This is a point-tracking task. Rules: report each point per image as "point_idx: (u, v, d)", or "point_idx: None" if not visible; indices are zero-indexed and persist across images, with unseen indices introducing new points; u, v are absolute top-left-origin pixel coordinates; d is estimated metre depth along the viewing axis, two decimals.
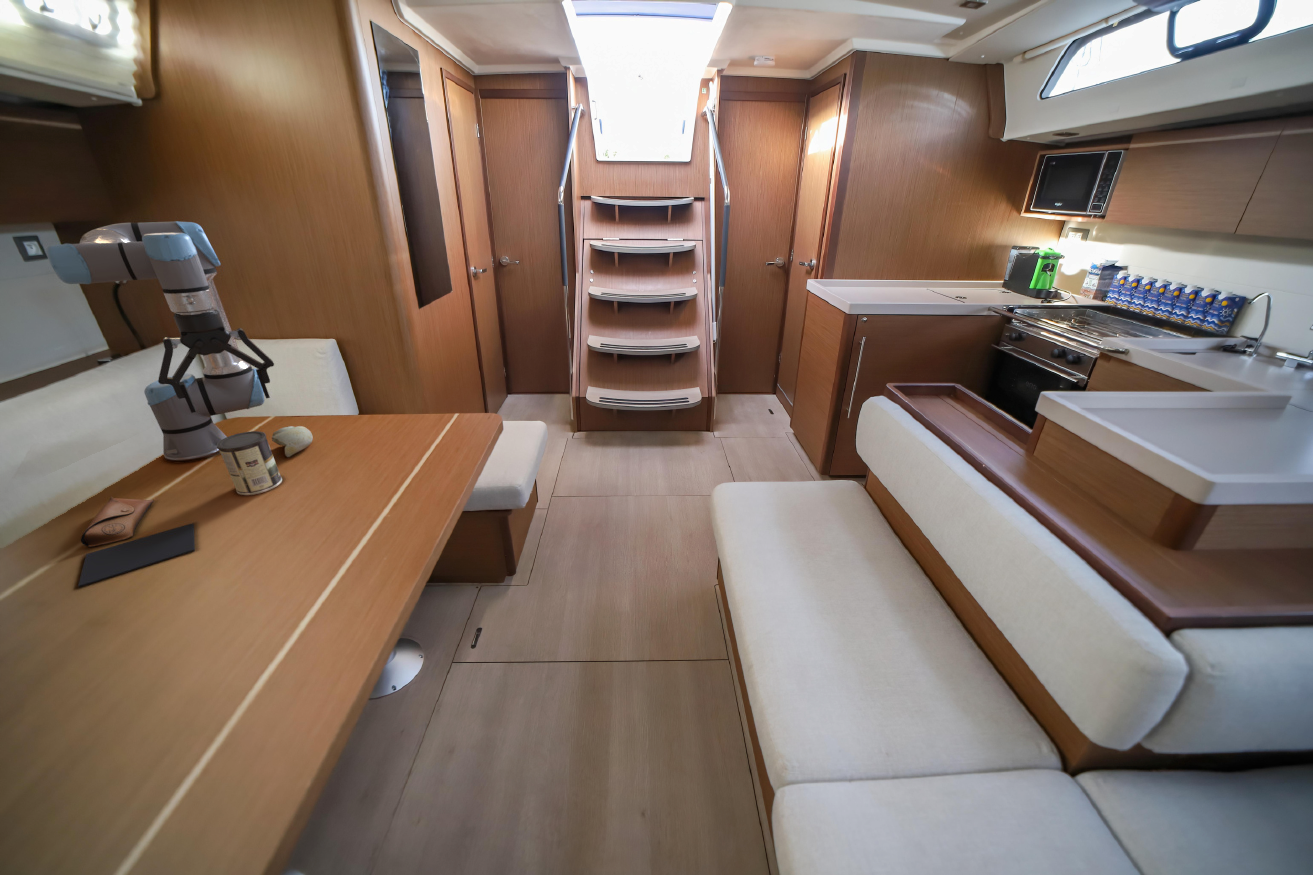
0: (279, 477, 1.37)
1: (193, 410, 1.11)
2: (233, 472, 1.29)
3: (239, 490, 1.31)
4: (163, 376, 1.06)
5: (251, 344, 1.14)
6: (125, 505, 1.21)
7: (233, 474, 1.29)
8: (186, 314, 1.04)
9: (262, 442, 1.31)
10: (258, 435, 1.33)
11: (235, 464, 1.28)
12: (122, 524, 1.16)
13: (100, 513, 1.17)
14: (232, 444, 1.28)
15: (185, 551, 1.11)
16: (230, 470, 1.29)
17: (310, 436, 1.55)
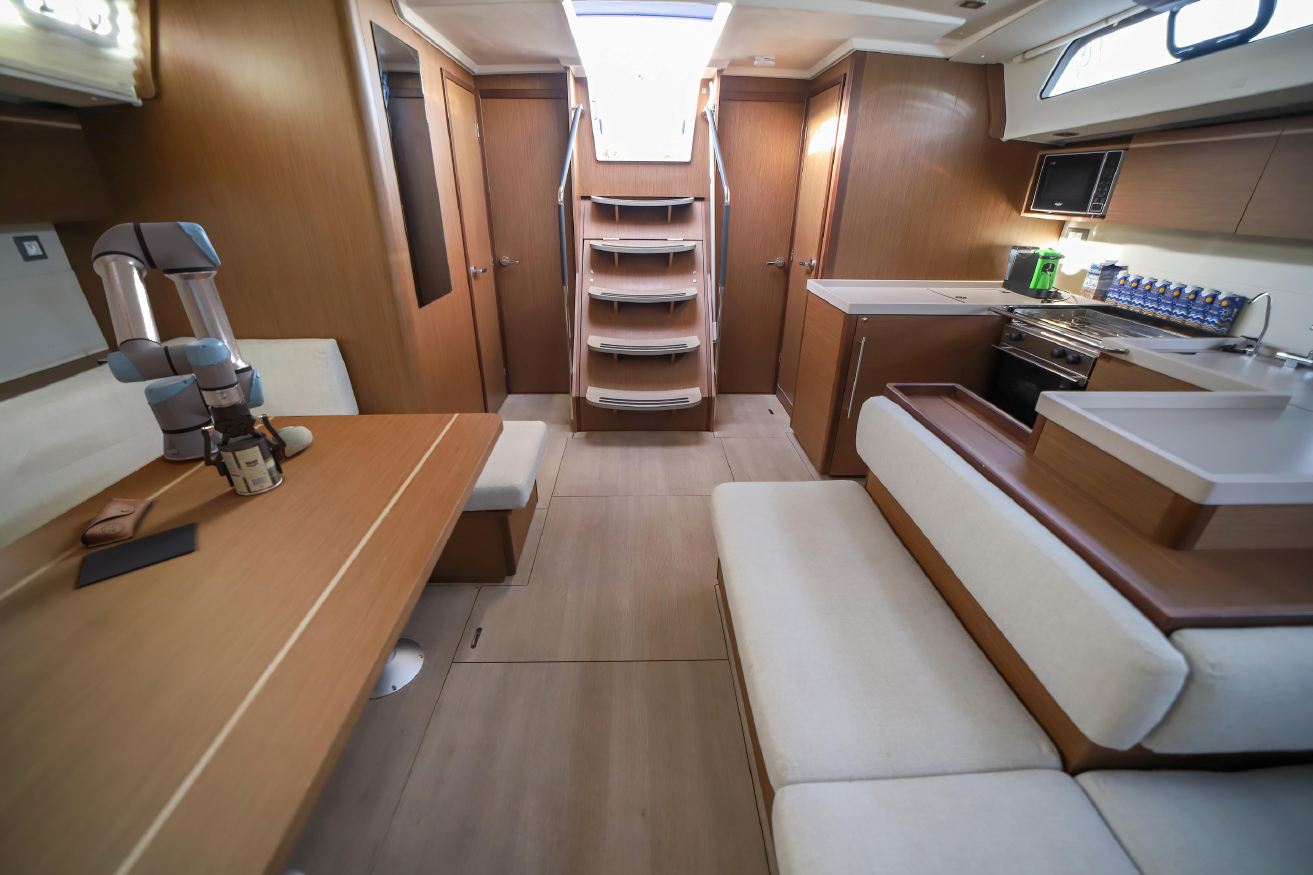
0: (279, 477, 1.37)
1: (232, 485, 1.31)
2: (233, 472, 1.29)
3: (239, 490, 1.31)
4: (207, 459, 1.26)
5: (271, 428, 1.33)
6: (125, 505, 1.21)
7: (233, 474, 1.29)
8: (219, 406, 1.23)
9: (263, 442, 1.31)
10: None
11: (235, 464, 1.28)
12: (122, 524, 1.16)
13: (100, 513, 1.17)
14: (232, 444, 1.28)
15: (185, 551, 1.11)
16: (230, 470, 1.29)
17: (310, 436, 1.55)
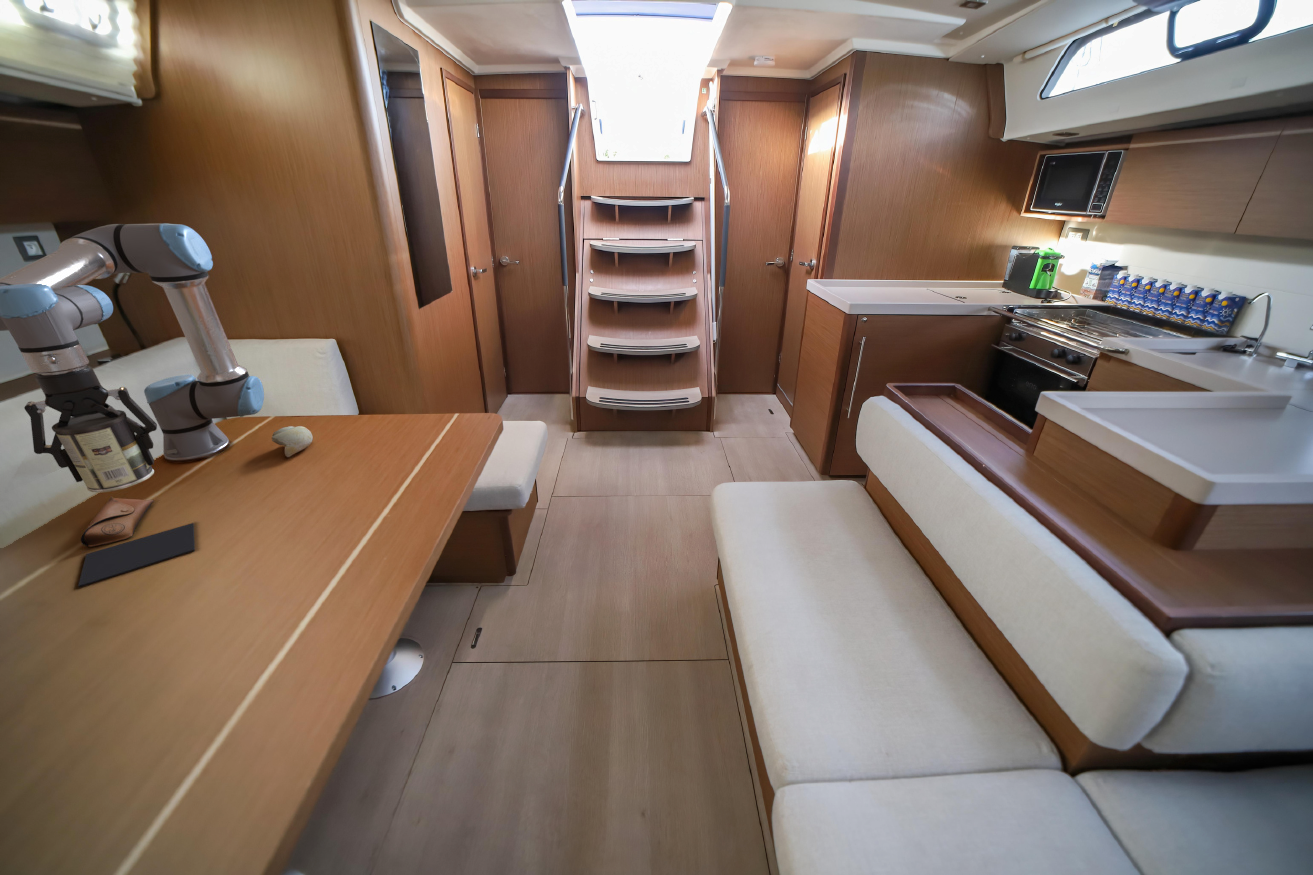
0: (148, 469, 1.07)
1: (79, 479, 1.01)
2: (77, 462, 0.98)
3: (88, 486, 1.01)
4: (38, 445, 0.95)
5: (132, 406, 1.02)
6: (125, 505, 1.21)
7: (76, 464, 0.99)
8: (48, 374, 0.92)
9: (118, 423, 1.00)
10: None
11: (77, 451, 0.97)
12: (122, 524, 1.16)
13: (100, 513, 1.17)
14: (74, 425, 0.97)
15: (185, 551, 1.11)
16: (73, 459, 0.98)
17: (310, 436, 1.55)
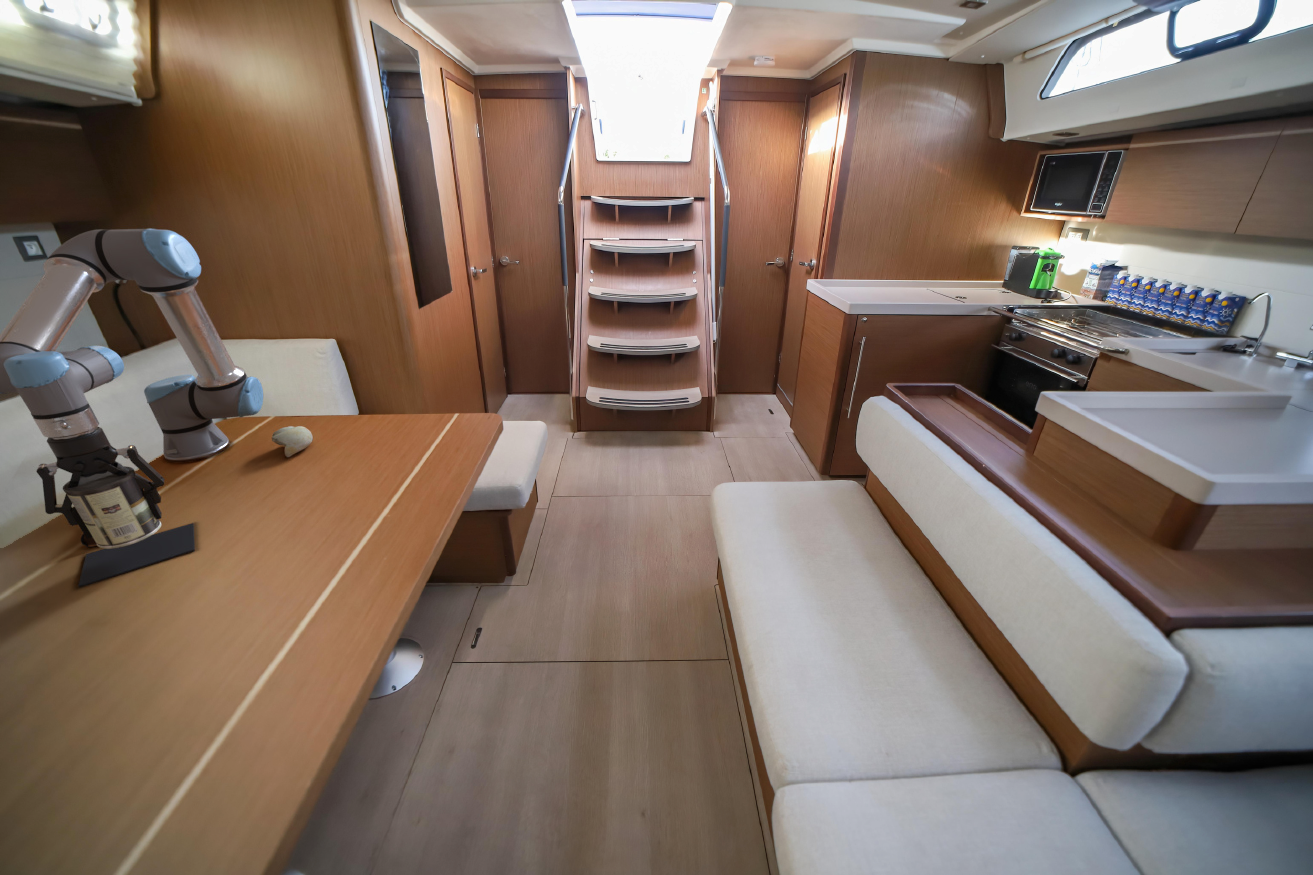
0: (156, 523, 1.09)
1: (89, 536, 1.03)
2: (87, 521, 1.01)
3: (98, 542, 1.03)
4: (49, 505, 0.98)
5: (140, 463, 1.05)
6: None
7: (87, 522, 1.01)
8: (60, 439, 0.95)
9: (127, 481, 1.03)
10: None
11: (87, 511, 1.00)
12: None
13: None
14: (84, 485, 1.00)
15: (185, 551, 1.11)
16: (83, 518, 1.01)
17: (310, 436, 1.55)
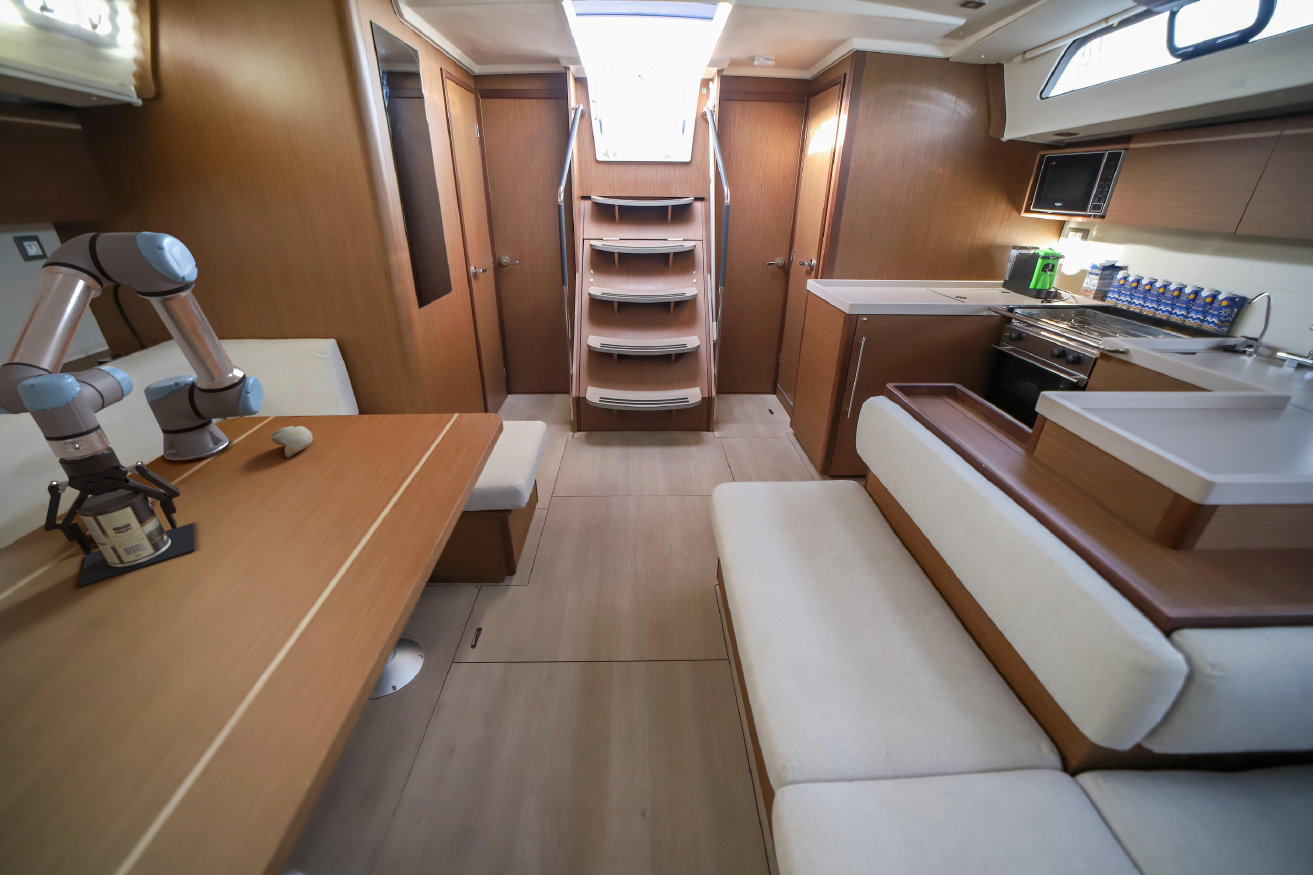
0: (165, 541, 1.11)
1: (87, 552, 1.04)
2: (98, 540, 1.03)
3: (109, 561, 1.05)
4: (49, 522, 0.99)
5: (152, 478, 1.06)
6: None
7: (98, 542, 1.03)
8: (72, 459, 0.97)
9: (138, 501, 1.05)
10: None
11: (99, 530, 1.02)
12: None
13: None
14: (96, 506, 1.02)
15: (185, 551, 1.11)
16: (94, 537, 1.03)
17: (310, 436, 1.55)
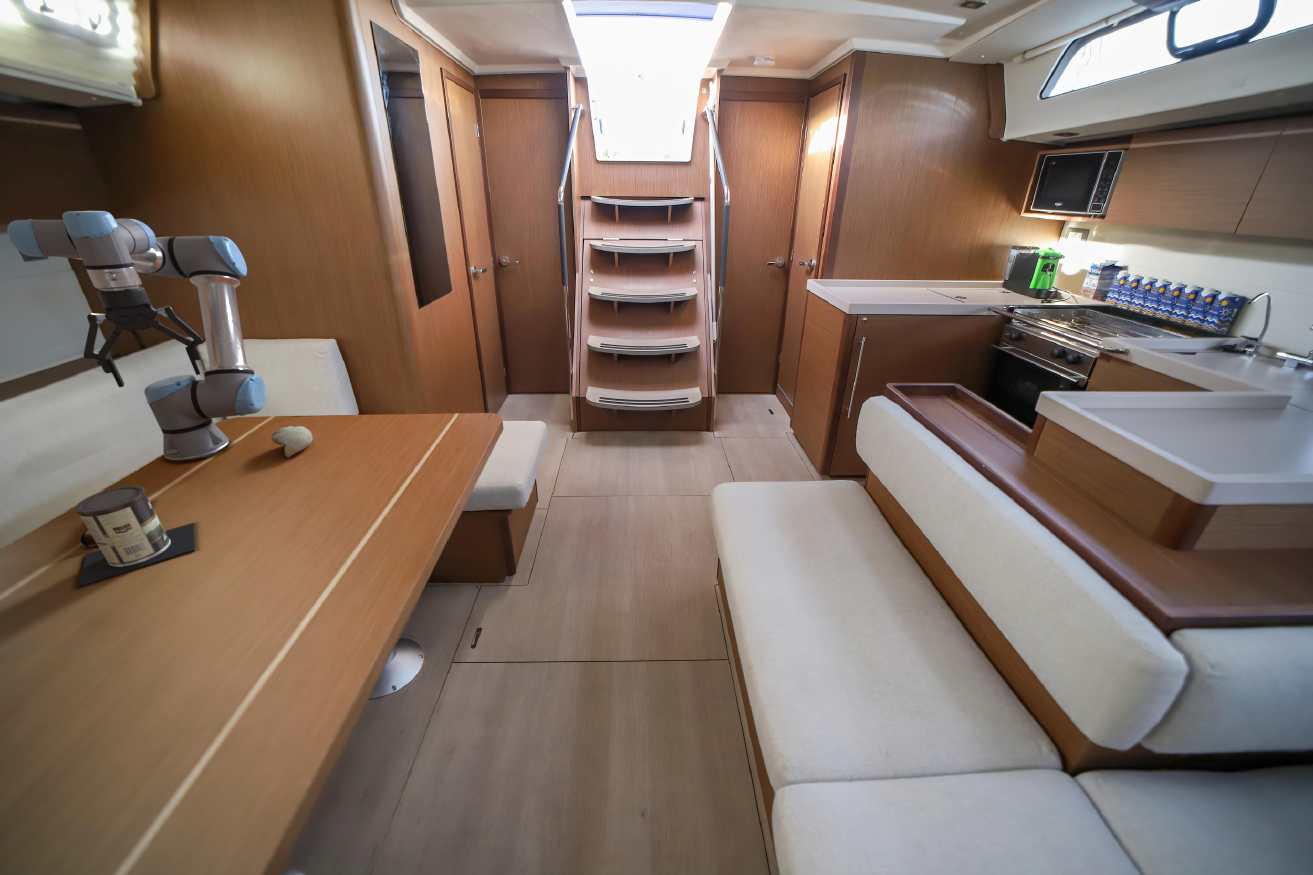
0: (165, 541, 1.11)
1: (121, 385, 1.14)
2: (98, 540, 1.03)
3: (109, 561, 1.05)
4: (88, 350, 1.09)
5: (179, 321, 1.17)
6: None
7: (98, 542, 1.03)
8: (109, 290, 1.07)
9: (138, 501, 1.05)
10: (135, 491, 1.07)
11: (99, 530, 1.02)
12: None
13: None
14: (96, 506, 1.02)
15: (185, 551, 1.11)
16: (94, 537, 1.03)
17: (310, 436, 1.55)
